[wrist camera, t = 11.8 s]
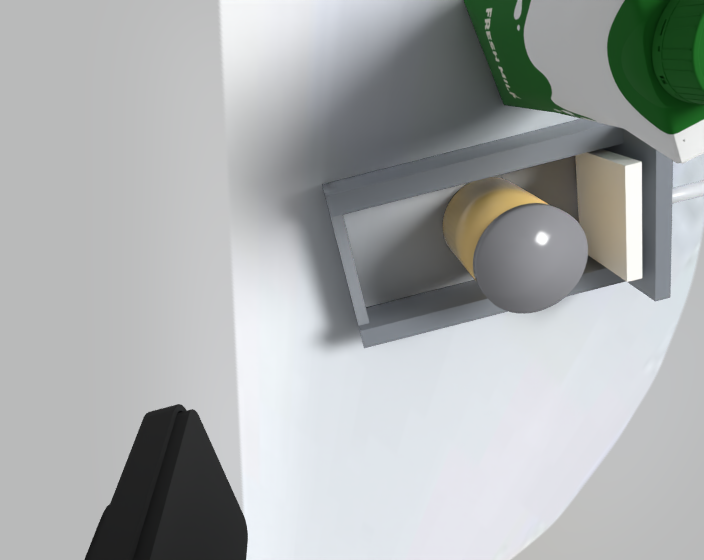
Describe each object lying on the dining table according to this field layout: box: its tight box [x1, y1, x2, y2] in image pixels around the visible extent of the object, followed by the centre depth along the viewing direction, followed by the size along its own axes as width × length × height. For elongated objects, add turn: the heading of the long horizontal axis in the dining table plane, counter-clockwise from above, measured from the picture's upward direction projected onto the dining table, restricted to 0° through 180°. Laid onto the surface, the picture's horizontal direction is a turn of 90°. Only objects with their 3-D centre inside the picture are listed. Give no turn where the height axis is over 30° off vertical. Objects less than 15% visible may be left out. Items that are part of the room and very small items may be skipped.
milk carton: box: [464, 0, 704, 163], centre depth 24 cm, size 9×9×20 cm
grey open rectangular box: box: [322, 119, 673, 348], centre depth 35 cm, size 11×20×6 cm, turn 103°
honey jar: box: [443, 177, 588, 313], centre depth 35 cm, size 7×7×8 cm
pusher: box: [575, 149, 704, 282], centre depth 35 cm, size 8×8×6 cm
